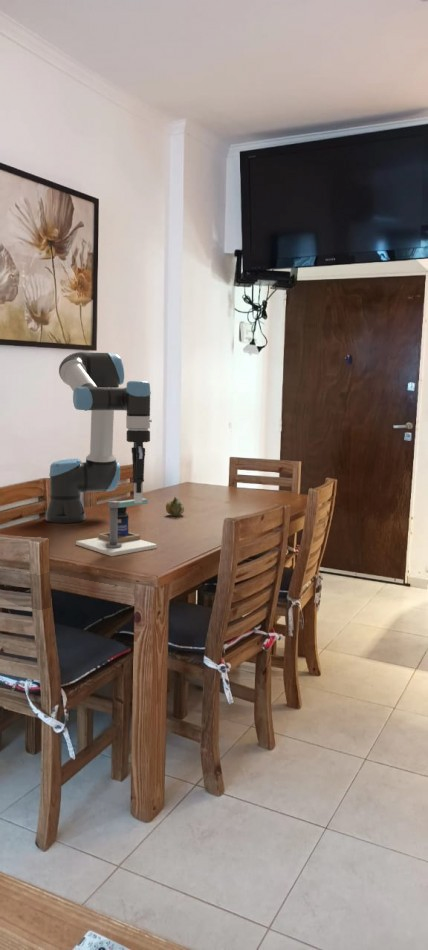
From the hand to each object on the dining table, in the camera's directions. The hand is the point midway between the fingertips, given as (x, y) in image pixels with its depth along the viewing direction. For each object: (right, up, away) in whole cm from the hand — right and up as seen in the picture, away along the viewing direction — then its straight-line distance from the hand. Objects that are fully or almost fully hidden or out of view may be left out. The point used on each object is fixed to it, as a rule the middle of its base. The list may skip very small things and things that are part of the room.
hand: (138, 502), depth 229 cm
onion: (+9, -8, +60) cm, 61 cm away
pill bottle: (-7, -13, +10) cm, 18 cm away
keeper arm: (-3, -1, 0) cm, 4 cm away
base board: (-8, -15, +4) cm, 17 cm away
